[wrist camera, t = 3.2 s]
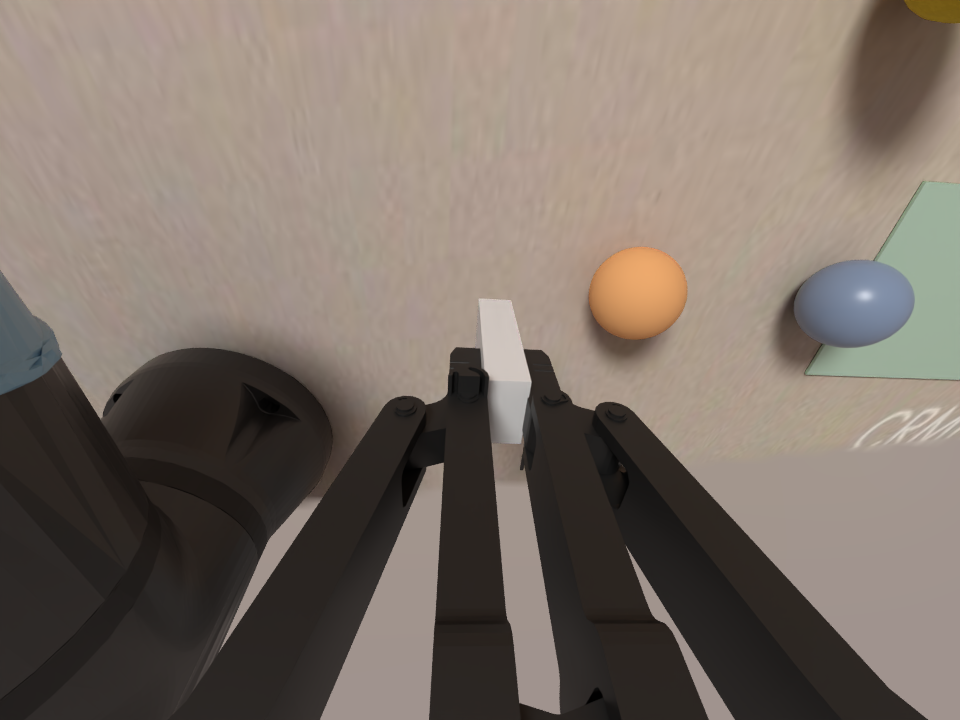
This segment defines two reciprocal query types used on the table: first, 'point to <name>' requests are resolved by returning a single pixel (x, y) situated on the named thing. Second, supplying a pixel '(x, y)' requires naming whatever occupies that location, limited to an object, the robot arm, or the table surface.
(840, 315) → the ball
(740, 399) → the table surface
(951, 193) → the mark
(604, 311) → the ball
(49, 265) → the table surface
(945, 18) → the lemon
